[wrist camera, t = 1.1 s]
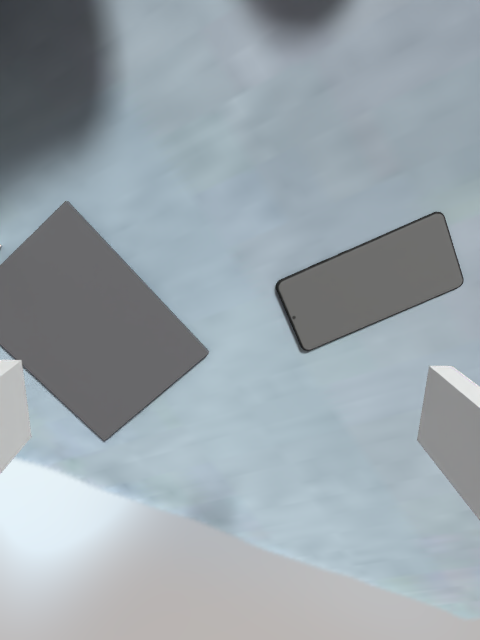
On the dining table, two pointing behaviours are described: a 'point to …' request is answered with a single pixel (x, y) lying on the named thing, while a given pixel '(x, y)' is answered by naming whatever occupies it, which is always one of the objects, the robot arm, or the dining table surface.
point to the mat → (90, 324)
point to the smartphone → (371, 281)
